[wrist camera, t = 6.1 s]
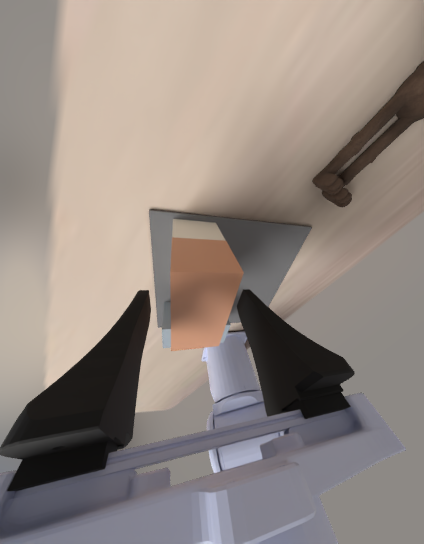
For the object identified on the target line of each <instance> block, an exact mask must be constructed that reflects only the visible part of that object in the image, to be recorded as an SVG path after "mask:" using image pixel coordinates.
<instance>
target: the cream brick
mask: <svg viewBox="0 0 424 544" xmlns="http://www.w3.org/2000/svg"><path fill="white" fill-rule="evenodd" d="M172 237H174V238H191V239H207V240H223V241H226V240H225V238H224V237H223V235H222V233H221V231H220V229H219V228H218V226H217V224H216V223H213V222H203V221H192V220H182V219H173V232H172Z"/></svg>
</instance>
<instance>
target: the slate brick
mask: <svg viewBox="0 0 424 544" xmlns="http://www.w3.org/2000/svg"><path fill="white" fill-rule="evenodd" d="M229 328H230V322H229V318H228V321H227V324H226V326H225V329H224V332H223V335H222V338H221V341H220V343H223V342H224V341H225V338H226V336H227V333H228V330H229ZM162 339H163V348H170V347H171V302H164V311H163V323H162Z"/></svg>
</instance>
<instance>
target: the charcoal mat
mask: <svg viewBox="0 0 424 544" xmlns="http://www.w3.org/2000/svg"><path fill="white" fill-rule="evenodd" d="M149 217H150V230H151V243H152V256H153V269H154V282H155V295H156V308H157V322H158V328H159V327H162V323H163V311H164V302H171V294H170V268H171V247H172V232H173V219H182V220H192V221H203V222H213V223H216V224H217V226H218V228H219V229H220V231H221V233H222V235H223V237H224V238H225V240H226V241H227V243H228V245H229V247H230V249H231V250H232V252H233V254H234V256H235V258H236V259H237V261H238V263H239V265H240V267H241V268H242V270H243V272H244V274H243V277H242V279H241V282H240V285H239V288H238V291H237V294H236V297H235V300H234V303H233V306H232V309H231V312H230V315H229V322H230V323H238V322H241V321H240V318H239V314H238V310H237V304H238V301H239V299H240V296H241V293H242V291H243V289H250V290H251V291H252V292H253V293H254V294H255V295H256V296H257V297H258V298H259V299H260V300H261V301H262V302H263V303H264V304H265V305H266V306H267V307H268V306H269V304H270V303H271V301H272V299H273V297H274V295H275V294H276V292H277V290H278V288H279V286H280V285H281V283H282V281H283V279H284V277H285V276H286V274H287V272H288V270H289V268H290V266H291V265H292V263H293V261H294V259H295V257H296V256H297V254H298V252H299V250H300V248H301V247H302V245H303V243H304V241H305V239H306V238H307V236H308V234H309V232H310V230H311V228H312V227H310V226H301V225H291V224H282V223H273V222H263V221H254V220H244V219H235V218H225V217H216V216H207V215H197V214H188V213H178V212H169V211H159V210H150V209H149Z"/></svg>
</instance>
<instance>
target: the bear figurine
mask: <svg viewBox="0 0 424 544" xmlns="http://www.w3.org/2000/svg"><path fill="white" fill-rule="evenodd" d="M395 114H396V115H397V117H398V120H397V121H396V122H395V123H394V124H393V125H392V126H391V127H390V128H389V129H387V130H386V131H385V132H384V133H383V134H382V135H381V136H380V137H379V138H378V139H377V140H376V141H375V142H374V143H373V144H372V145H371V146H370V147H369V148H368V149H367V150H366V151H365V152H363V153H362V154H361V155H360V156H359V157H358V158H357V159H356V160H355V161H354V162H353V163H352V164H351V165H350V166H349V167H348V168H347V169H346V170H345V171H344V172H343V173H342V174H340V175H339V176H337V175H336V172H337V171H338V170H339V169H340V168H341V167H342V166H343V165H344V164H345V163H346V162H348V161H349V160H350V159H351V158H352V157H353V156H354V155H356V154H357V153H358V152H359V151H360V150H361V149H362V147H363V146H364V145H365V144H366V143H367V142H368V141H369V140H370V139H371V138H372V137H373V136H374V135H375V134H376V133H377V132H378V131H379V130H380V129H381V128H382V127H383V126H384V125H385V124H386V123H387V122H388V121H389V120H390V119H391V118H392V117H393V116H394V115H395ZM423 118H424V62H422V63H421V64H420V65H419V66H418V67H417V70H416V71H415V72H414V73H413V74H412V75H411V76H410V77H409V78H408V79H407V80H406V81H405V82H404V83H403V84H402V85H401V86H400V88H399V89H398V90H397V92H396V94H395V96H394V97H393V98H392V99H391V100H390V101H389V102H388V103H387V104H386V105H385V106H384V107H383V108H382V109H381V110H380V111H379V112H378V113H377V115H376V116H375V117H374V118H373V119H372V120H371V121H370V122H369V123H368V124H367V125H366V126H365V127H364V128H363V129H362V130H361V131H360V132H358V133H357V134H355V135H354V136H353V137H352V139H351V141H350V142H349V144H348V145H347V146H345V147H344V148H343V149H342V150H341V151H340V152H339V153H338V155H337V156H336V157H335V158H334V159H333V160H332V161H331V162H330V163H329V164H328V165H327V166H326V167H325V168H324V169H323V170H322V171H321V172H320V173H319V174H318V175H317V176H316V177H315V178H314V179H313V183H314V184H315V185H316V187H318V188H320V189H322V190H323V191H322V194H323V196H324V197H325V198H326V199H327V200H329V201H331V202H332V203H334V204H336V205H337V206H339V207H345V206H347V205H348V204H349V203H350V202H351V200H352V194H351V193H349V192H348V190H347V189H345V188H343V187H344V186H345V185H347V184H348V183H349V182H350V181H351V180H352V179H353V178H354V177H355V176H356V175H357V174H358V173H359V172H360V171H361V170H362V169H363V168H365V167H366V166H367V165H368V164H369V163H372V162H373V161H374V160H375V159H376V157H377V156H378V155H379V154H380V153H381V152H382V151H383V150H384V149H385V148H386V147H387V146H389V145H390V144H391V143H392V142H393V141H394V140H395V139H396V138H397V137H398V136H399V135H401V134H402V133H403V132H404V131H405V130H406V129H407V128H408V127H409V126H410V125H411V124H413V123H414V122H416V121H418V120H421V119H423Z"/></svg>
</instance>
